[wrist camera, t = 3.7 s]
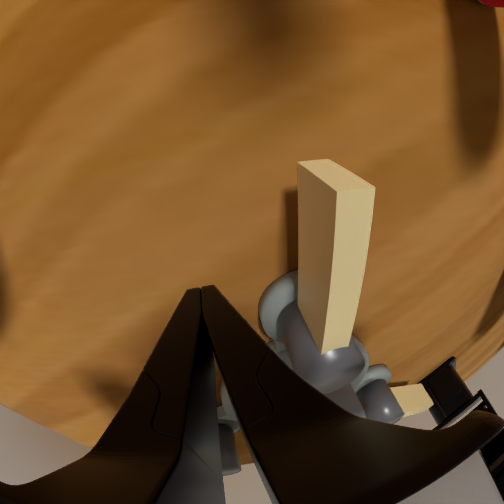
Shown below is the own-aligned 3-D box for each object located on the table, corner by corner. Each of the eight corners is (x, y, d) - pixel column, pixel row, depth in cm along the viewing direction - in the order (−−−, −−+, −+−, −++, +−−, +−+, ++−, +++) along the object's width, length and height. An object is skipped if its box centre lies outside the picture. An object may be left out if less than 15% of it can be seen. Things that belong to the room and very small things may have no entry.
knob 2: (349, 400, 22) (366, 434, 18) (371, 379, 20) (390, 415, 17) (406, 392, 25) (421, 418, 22) (425, 375, 24) (441, 401, 21)
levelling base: (390, 373, 23) (416, 417, 19) (252, 444, 26) (264, 488, 21) (314, 252, 14) (372, 336, 9) (105, 387, 16) (100, 459, 12)
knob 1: (329, 329, 15) (358, 382, 12) (277, 342, 15) (299, 401, 12) (344, 154, 10) (408, 189, 7) (268, 161, 10) (309, 201, 6)
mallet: (216, 421, 19) (224, 465, 16) (240, 429, 20) (249, 469, 17) (141, 448, 20) (142, 483, 17) (164, 455, 22) (168, 488, 19)
